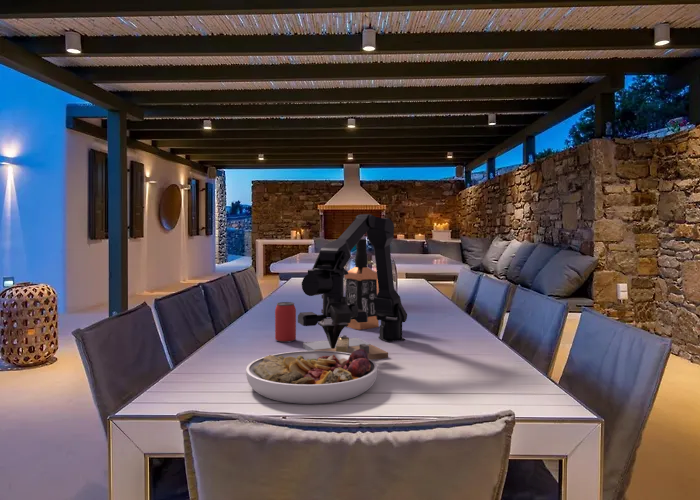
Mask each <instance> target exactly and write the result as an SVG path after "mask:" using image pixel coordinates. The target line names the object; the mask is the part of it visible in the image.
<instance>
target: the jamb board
mask: <svg viewBox="0 0 700 500" xmlns="http://www.w3.org/2000/svg"><path fill="white" fill-rule="evenodd" d="M348 338H349V346H348V348H349V347H352V346H360V344H366V345H372V344H371V343H369V342H367V341H365V340H363V339H361V338H359V337H352V338H350V337H348ZM337 342H338V340H337ZM336 345H337V343H336ZM302 348H303V349H304V350H305V351H315V350H321V349H331V347H330V344H329V341H328V339H327V340H319V341H318V340H317V341H307V342H302ZM335 348H336V346H335Z"/></svg>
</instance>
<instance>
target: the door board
mask: <svg viewBox="0 0 700 500" xmlns="http://www.w3.org/2000/svg"><path fill="white" fill-rule="evenodd" d="M358 349H363V350H365V351H366V352H367V354H368V357H369V359H370V360H372V361H374V360H382V359H388V358H389V352H388V351H386V350H384V349H381V348H380V347H377V346H375V345H373V344H371V345H366V344H360V346H352V347H349V348H348V349H347V353H351V354H352V353H353V352H354V351H355V350H358ZM315 351H336V348H334V349H332V348H331V349H321V350H315Z"/></svg>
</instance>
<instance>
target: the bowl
mask: <svg viewBox="0 0 700 500" xmlns="http://www.w3.org/2000/svg"><path fill="white" fill-rule="evenodd" d="M245 374H246V375H245V376H246V380H247V382H248V384H249V386H250V387H251V389H252V390H253V391H255V392H256V393H257V394H259V395H260V396H262V397H264V398H267V399H269V400H270V399H271V400H273V401H278V402H281V403H289V404H299V405H301V404H302V405H303V404H304V405H311V404H312V405H315V404H317V405H318V404H320V405H321V404H330V403H336V402H343V401H345V400H349V399H353V398H355V397H359V396H360V395H362V394H364V393H365V392H367V391H368V390H369V389H370V388H371V387H372V386H373V385H374V383H375V381H376V380H377V377H378V364H377V363H376V362H375V361H374V360H370V359H369V357H368V354H367V352H366V351H365V350H363V349H358V350H355V351H354V352H353V353H352V354H351V353H345V352H336V351H307V350H300V351H299V350H298V351H297V350H296V351H287V352H280V353H274V354H268V355H266V356H263V357H260V358H258V359H256V360H255V359H254V360H253V361H251V362H249V363H248V365H246V369H245Z"/></svg>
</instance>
